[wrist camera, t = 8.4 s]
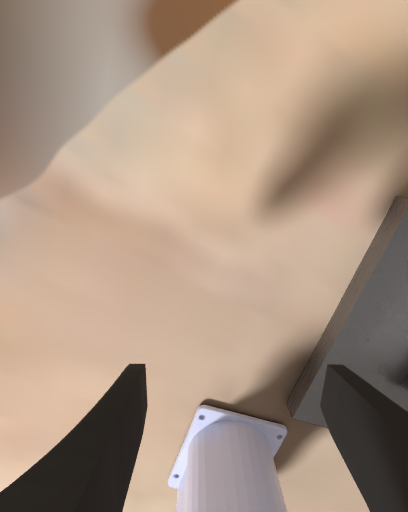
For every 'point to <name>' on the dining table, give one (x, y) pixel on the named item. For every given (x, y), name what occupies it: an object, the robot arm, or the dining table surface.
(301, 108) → the dining table surface
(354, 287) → the base
